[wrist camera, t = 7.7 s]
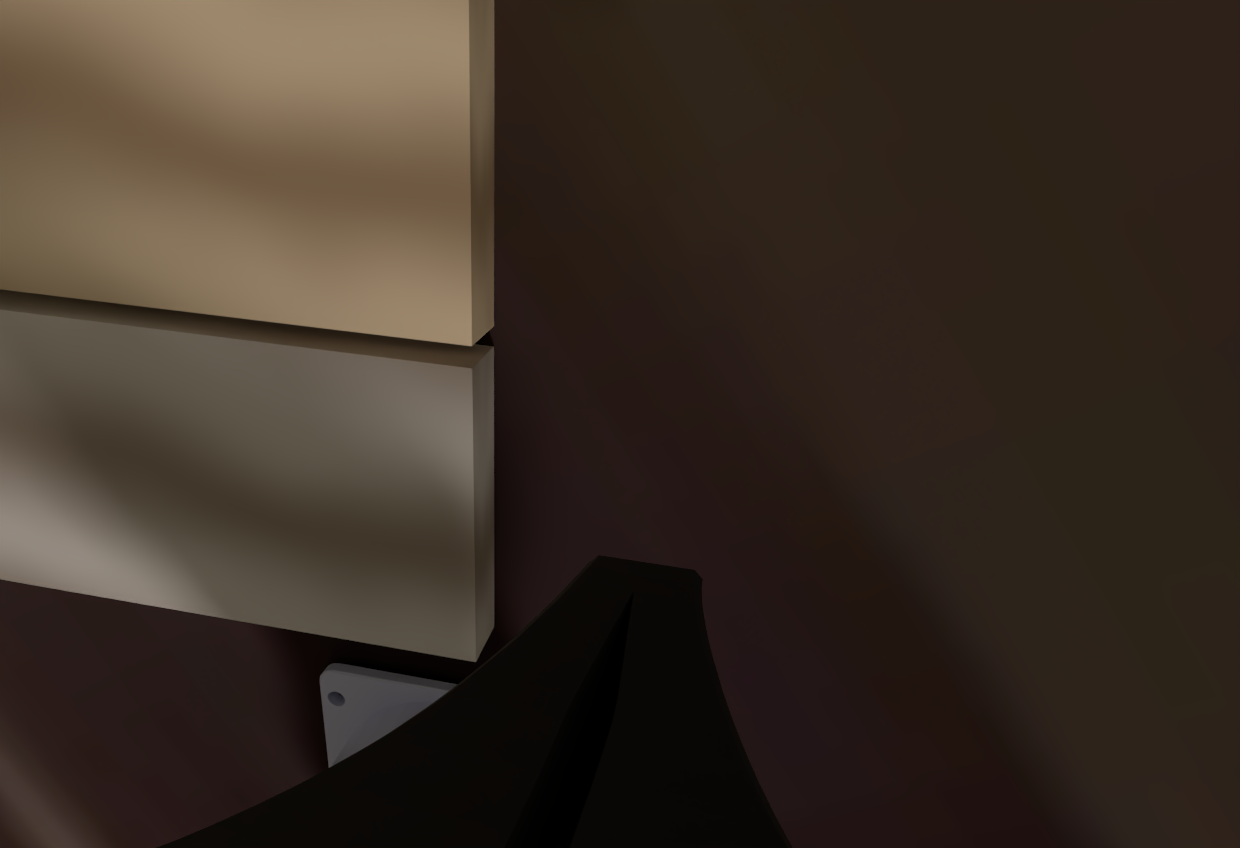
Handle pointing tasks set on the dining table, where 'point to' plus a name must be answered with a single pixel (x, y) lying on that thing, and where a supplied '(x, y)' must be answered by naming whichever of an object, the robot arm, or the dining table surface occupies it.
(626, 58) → the dining table surface
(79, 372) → the laid plank
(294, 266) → the oak plank
